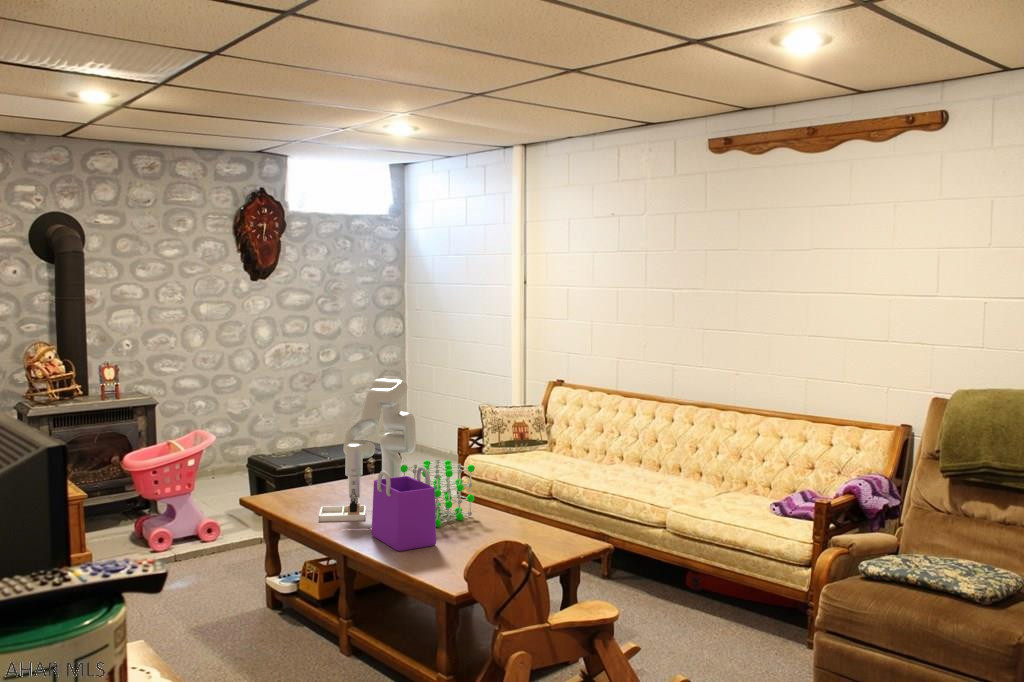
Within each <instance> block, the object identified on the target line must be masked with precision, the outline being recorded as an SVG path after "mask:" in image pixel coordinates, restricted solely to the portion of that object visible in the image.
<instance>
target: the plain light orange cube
mask: <svg viewBox="0 0 1024 682" xmlns="http://www.w3.org/2000/svg"><path fill="white" fill-rule="evenodd" d="M347 506H348V515H360V506H361V503H359V502H358V503H357V512H350V502H348V505H347Z"/></svg>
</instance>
